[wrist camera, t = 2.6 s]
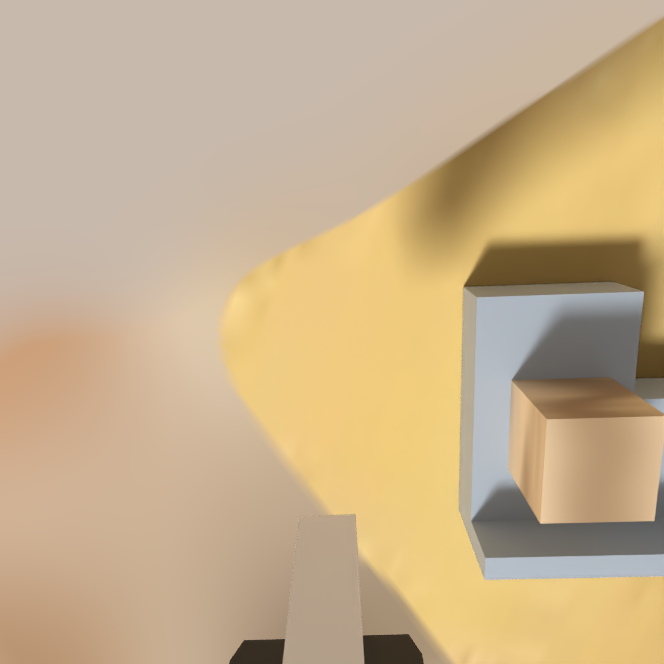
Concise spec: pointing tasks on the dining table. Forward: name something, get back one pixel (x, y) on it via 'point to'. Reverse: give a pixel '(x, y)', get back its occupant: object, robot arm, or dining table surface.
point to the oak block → (585, 450)
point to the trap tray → (494, 421)
